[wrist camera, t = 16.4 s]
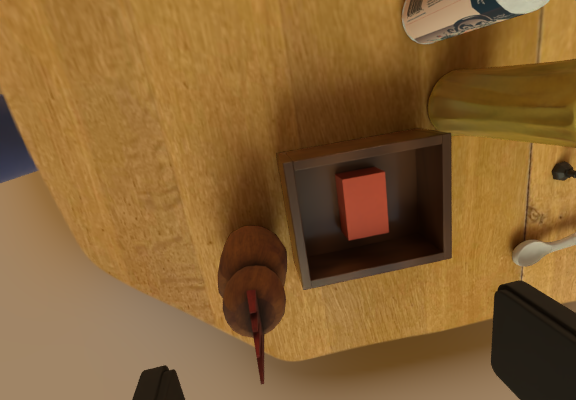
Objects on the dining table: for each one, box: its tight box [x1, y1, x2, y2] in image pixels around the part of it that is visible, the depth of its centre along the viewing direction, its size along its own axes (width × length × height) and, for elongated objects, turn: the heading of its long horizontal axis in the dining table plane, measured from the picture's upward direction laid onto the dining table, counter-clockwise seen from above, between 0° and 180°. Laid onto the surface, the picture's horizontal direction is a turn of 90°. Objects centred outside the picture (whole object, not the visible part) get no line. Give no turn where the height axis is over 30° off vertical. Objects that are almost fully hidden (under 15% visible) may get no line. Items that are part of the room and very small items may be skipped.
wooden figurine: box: [218, 225, 287, 384], centre depth 26 cm, size 7×6×15 cm
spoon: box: [512, 232, 576, 266], centre depth 37 cm, size 3×12×2 cm, turn 106°
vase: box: [428, 59, 576, 148], centre depth 25 cm, size 6×6×14 cm
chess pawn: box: [552, 161, 576, 180], centre depth 34 cm, size 2×2×3 cm
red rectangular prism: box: [335, 167, 389, 241], centre depth 31 cm, size 6×4×2 cm, turn 9°
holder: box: [276, 128, 452, 290], centre depth 30 cm, size 14×12×5 cm
